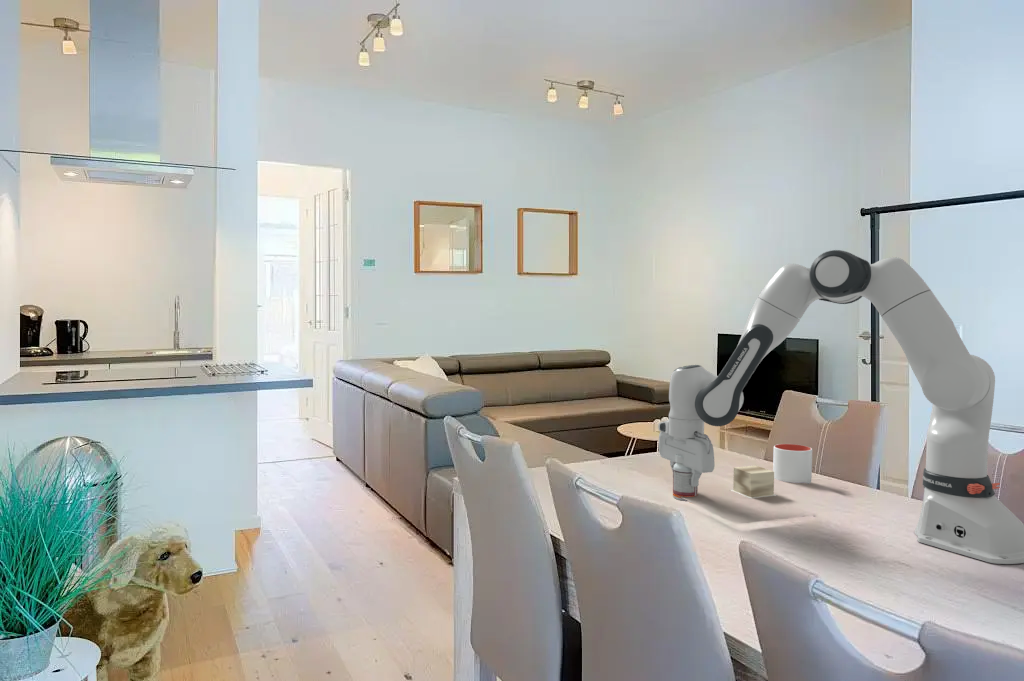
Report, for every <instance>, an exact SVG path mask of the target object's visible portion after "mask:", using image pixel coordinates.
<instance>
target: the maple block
mask: <svg viewBox="0 0 1024 681" xmlns="http://www.w3.org/2000/svg"><path fill="white" fill-rule="evenodd" d="M732 482H733V484H732V487H733V488H732V490H734V491H736V492H739V493H741V494H744V495H746V496H749V497H759V496H768V495H774V494H775V479H774V471H773V470H771V469H767V468H765V467H762V466H759V465H746V466H734V467H733V481H732Z"/></svg>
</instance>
